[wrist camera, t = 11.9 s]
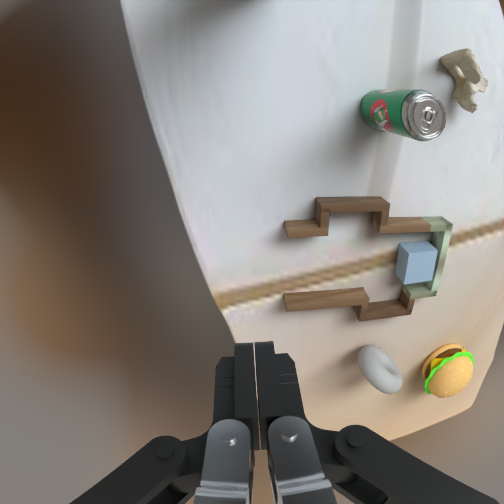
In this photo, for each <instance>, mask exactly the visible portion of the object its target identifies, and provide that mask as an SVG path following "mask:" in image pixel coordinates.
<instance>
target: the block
mask: <svg viewBox="0 0 504 504" xmlns="http://www.w3.org/2000/svg"><path fill="white" fill-rule="evenodd" d="M437 252H438V250H437V249H436V248H435V247H434V246H432V245H431V244H430V243H429V242H428V241H417V242H407V243H399V248H398V255H397V263H396V269H395V274H396V275H397V276H398V278H399V279H400V280H401V282H402V283H403V284H404V285H405V284H412V283H419V282H425V281H432V277H433V272H434V268H435V263H436V258H437Z"/></svg>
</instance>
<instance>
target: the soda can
mask: <svg viewBox="0 0 504 504" xmlns="http://www.w3.org/2000/svg"><path fill="white" fill-rule="evenodd" d="M361 112H362V116H363V118H364V120H365V121H366V123H367V124H368V125H370V126H371V127H373V128H375V129H378V130H382V131H386V132H390V133H394V134H397V135H401V136H405V137H408V138H411V139H415V140H418V141H428V140H431V139H433V138H436V137H437V136H439V135H440V134H441V133H442V131H443V129H444V127H445V124H446V113H445V109H444V107H443V105H442V103H441V102H440V101H439V100H438V99H437V98H436V97H435V96H434V95H432V94H431V93H429V92H427V91H425V90H374V91H371V92H369V93H368V94H367V95H366V96H365V97H364V99H363V101H362V104H361Z"/></svg>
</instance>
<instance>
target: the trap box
mask: <svg viewBox="0 0 504 504" xmlns="http://www.w3.org/2000/svg"><path fill="white" fill-rule="evenodd" d="M389 208H390V203H388V202H387V201H386V200H384V199H383V198H382V197H316V208H315V220H294V221H284V228H285V231H286V234H287V237H288V238H290V237H311V236H328V227H329V213H330V212H371V211H373V212H372V222H371V225H372V226H373V227H374V228H375V229H376V230H377V231H378V232H379V233H405V232H433V236H432V241H431V245H432V246H434V247H435V248H436V249H437V250H438V252H437V258H436V263H435V268H434V272H433V277H432V281H425V282H419V283H412V284H405V285H404V284H403V286H402V291H401V295H400V299H398V300H390V301H381V302H372V303H369V299H370V298H369V297H368V295H367V293H366V292H365V290H364V288H363V287H361V288H350V289H338V290H326V291H312V292H298V293H284V302H285V307H286V312H288V311H301V310H314V309H326V308H337V307H347V306H354V309H353V310H354V312H355V314H356V316H357V318H358V320H359V321H366V320H374V319H382V318H390V317H397V316H404V315H411V312H412V309H413V305H414V301H415V299H417V298H424V297H432V296H436V293H437V289H438V286H439V282H440V278H441V275H442V271H443V267H444V262H445V258H446V254H447V250H448V245H449V240H450V235H451V230H452V225H453V224H452V223H450V222H449V221H447V220H446V219H444V218H443V217H389Z"/></svg>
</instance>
